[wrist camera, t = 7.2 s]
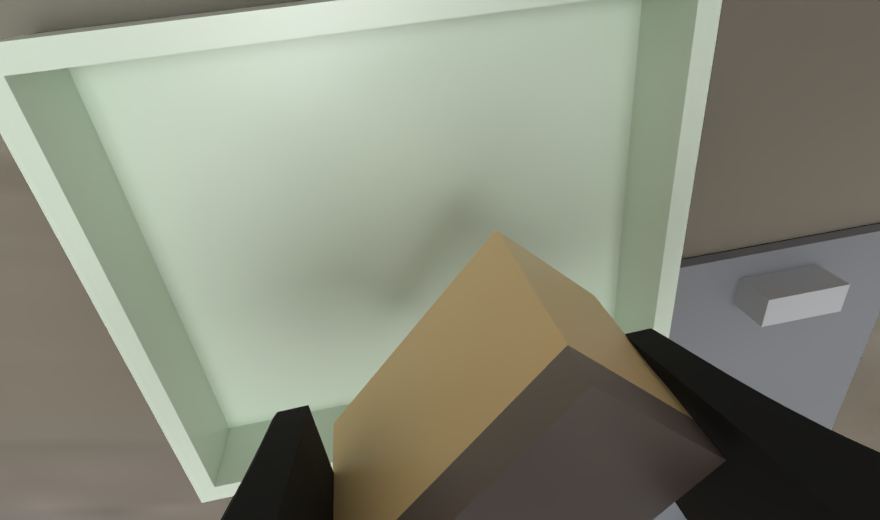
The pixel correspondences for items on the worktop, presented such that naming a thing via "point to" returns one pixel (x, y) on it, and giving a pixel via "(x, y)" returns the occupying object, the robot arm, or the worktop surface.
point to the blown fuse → (515, 410)
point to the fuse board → (783, 317)
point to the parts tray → (348, 182)
